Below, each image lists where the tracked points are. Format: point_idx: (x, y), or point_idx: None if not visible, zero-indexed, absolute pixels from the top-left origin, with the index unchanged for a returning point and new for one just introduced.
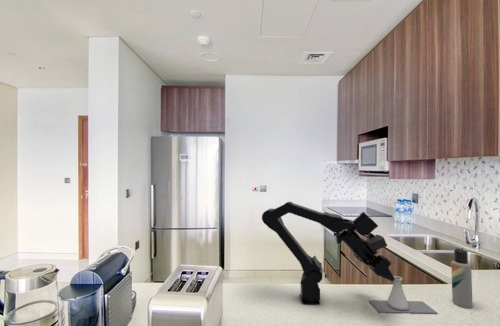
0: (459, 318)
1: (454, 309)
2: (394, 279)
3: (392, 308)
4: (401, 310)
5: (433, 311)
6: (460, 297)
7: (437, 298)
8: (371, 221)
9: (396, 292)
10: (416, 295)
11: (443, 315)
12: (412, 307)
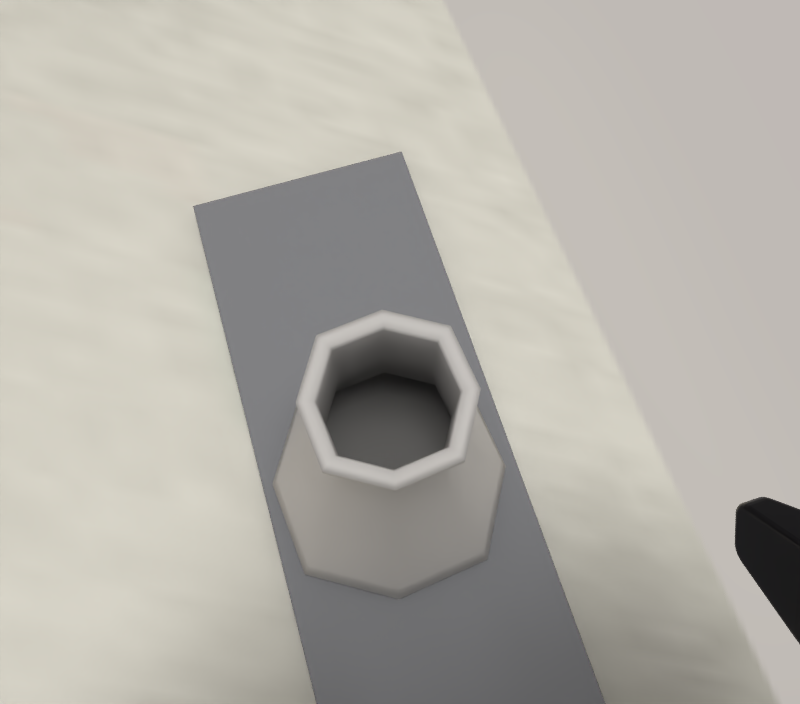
0: (414, 33)
1: (259, 13)
2: (768, 504)
3: None
4: None
5: (390, 175)
6: None
7: (64, 64)
8: None
9: (459, 472)
10: (31, 222)
11: (405, 123)
12: None
